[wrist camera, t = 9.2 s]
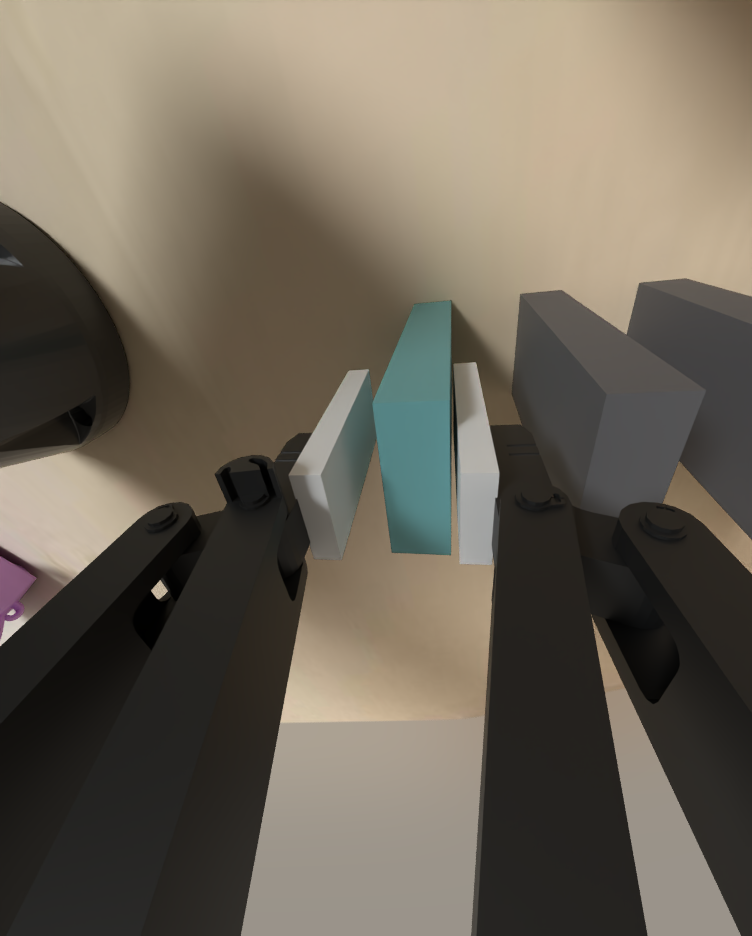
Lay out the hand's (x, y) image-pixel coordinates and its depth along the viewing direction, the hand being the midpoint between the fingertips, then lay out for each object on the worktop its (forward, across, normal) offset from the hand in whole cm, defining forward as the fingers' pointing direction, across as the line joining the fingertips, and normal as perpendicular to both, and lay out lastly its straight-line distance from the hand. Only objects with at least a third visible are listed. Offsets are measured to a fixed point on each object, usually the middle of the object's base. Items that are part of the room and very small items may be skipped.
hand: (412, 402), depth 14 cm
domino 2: (+7, +6, 0) cm, 9 cm away
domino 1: (+7, +1, 0) cm, 7 cm away
